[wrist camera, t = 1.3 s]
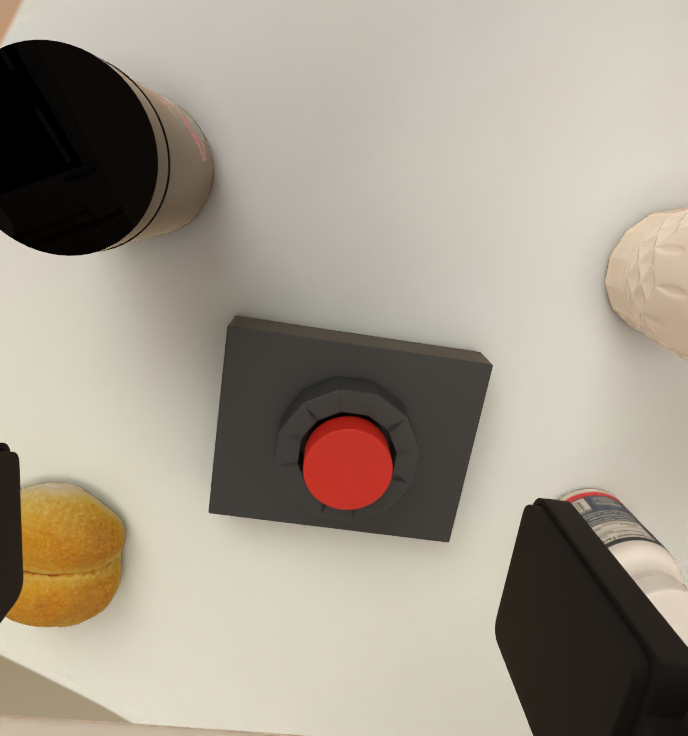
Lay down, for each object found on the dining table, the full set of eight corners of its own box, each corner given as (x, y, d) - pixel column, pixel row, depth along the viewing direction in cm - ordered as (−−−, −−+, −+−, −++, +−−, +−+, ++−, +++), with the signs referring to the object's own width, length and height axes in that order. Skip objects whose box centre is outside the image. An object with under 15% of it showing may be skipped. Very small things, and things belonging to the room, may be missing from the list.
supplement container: (244, 183, 29) (200, 178, 19) (144, 261, 30) (53, 294, 20) (156, 63, 27) (58, -11, 17) (54, 150, 28) (-95, 127, 18)
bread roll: (133, 486, 34) (109, 523, 30) (122, 608, 37) (98, 656, 33) (-9, 465, 33) (-52, 500, 29) (-10, 590, 36) (-50, 638, 32)
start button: (310, 410, 28) (309, 423, 27) (396, 421, 29) (400, 435, 27) (299, 487, 30) (297, 504, 28) (380, 497, 30) (384, 515, 28)
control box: (234, 315, 31) (220, 335, 27) (481, 352, 32) (505, 376, 28) (216, 491, 34) (200, 534, 30) (440, 519, 35) (456, 564, 31)
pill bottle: (619, 556, 36) (708, 666, 28) (539, 561, 36) (604, 673, 28) (628, 483, 35) (725, 576, 26) (544, 488, 35) (614, 583, 26)
